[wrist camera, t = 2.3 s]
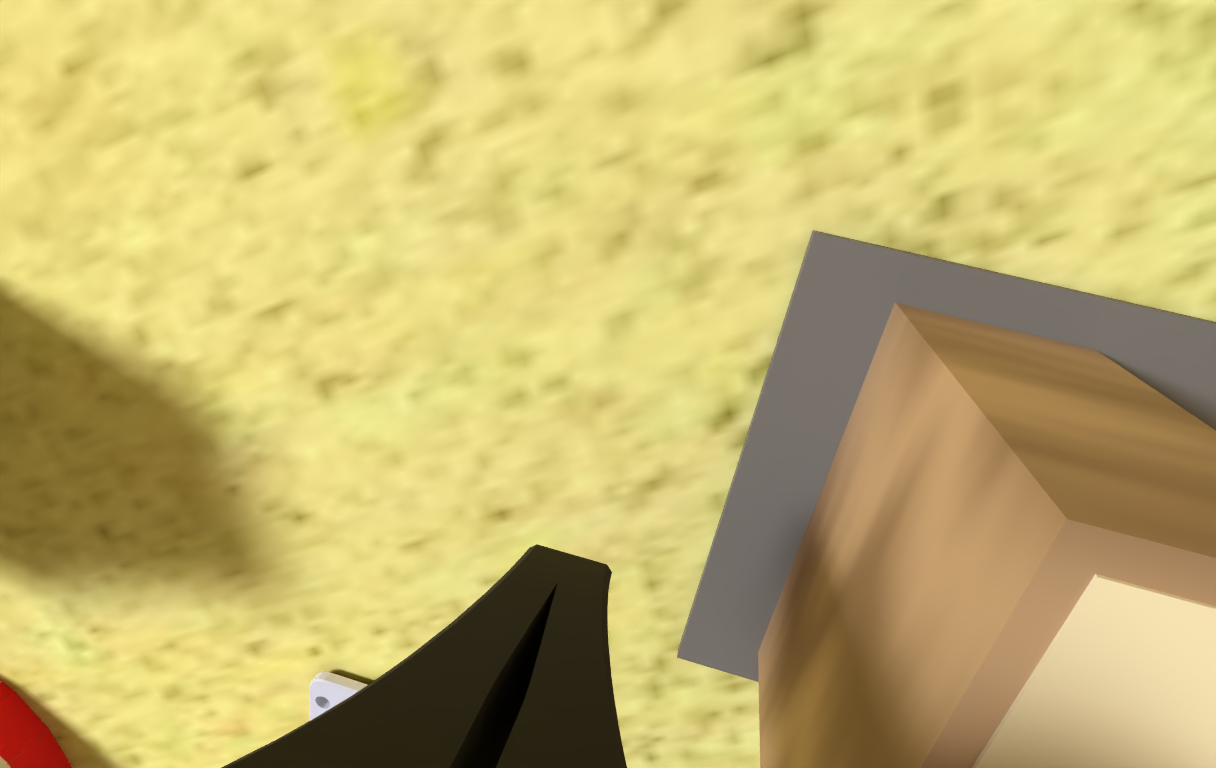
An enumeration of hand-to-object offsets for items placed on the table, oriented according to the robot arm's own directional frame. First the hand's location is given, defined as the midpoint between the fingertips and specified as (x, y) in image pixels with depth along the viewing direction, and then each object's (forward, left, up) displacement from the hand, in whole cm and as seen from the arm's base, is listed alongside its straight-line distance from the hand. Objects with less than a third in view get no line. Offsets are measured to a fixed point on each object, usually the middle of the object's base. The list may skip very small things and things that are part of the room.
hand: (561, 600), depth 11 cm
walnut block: (0, -7, -6) cm, 9 cm away
